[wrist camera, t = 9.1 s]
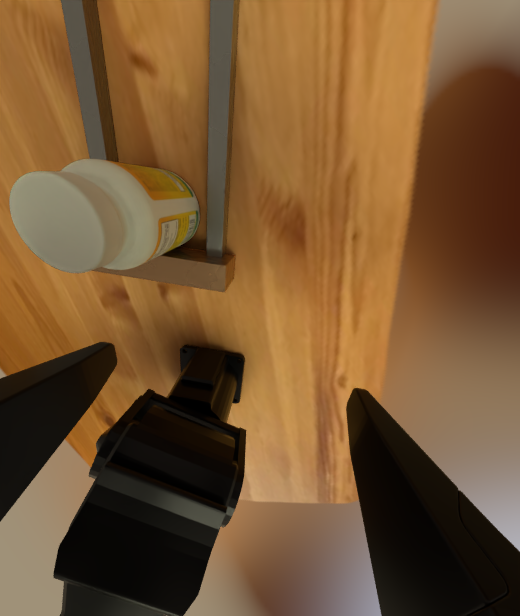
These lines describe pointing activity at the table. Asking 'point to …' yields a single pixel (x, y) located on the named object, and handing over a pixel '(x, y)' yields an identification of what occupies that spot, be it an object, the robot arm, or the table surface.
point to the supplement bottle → (103, 214)
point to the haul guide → (222, 67)
